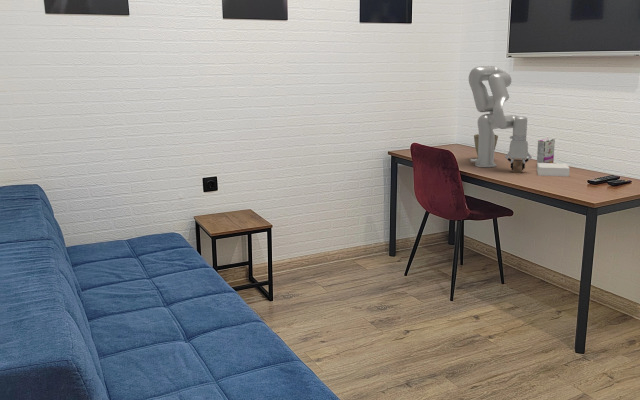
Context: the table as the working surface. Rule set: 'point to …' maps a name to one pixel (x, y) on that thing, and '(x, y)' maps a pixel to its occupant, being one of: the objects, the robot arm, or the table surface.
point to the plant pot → (476, 140)
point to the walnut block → (517, 165)
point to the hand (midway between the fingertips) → (517, 169)
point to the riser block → (552, 169)
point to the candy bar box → (545, 151)
